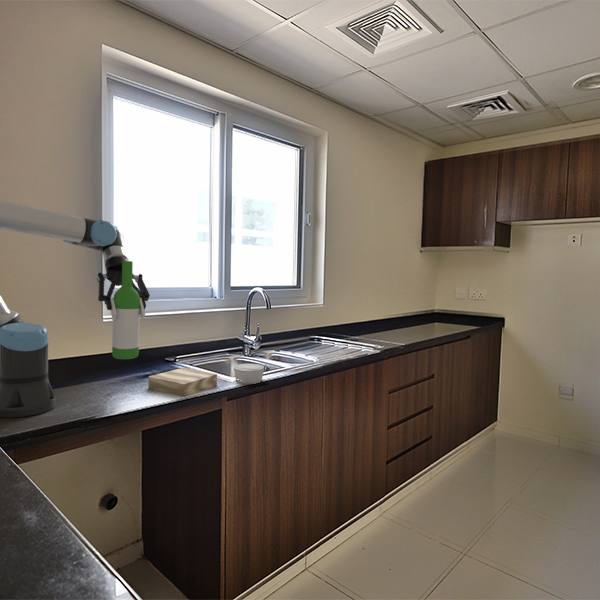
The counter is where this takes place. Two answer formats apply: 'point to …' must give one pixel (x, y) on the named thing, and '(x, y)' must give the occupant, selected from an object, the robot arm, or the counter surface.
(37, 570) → the counter surface
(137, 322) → the wine bottle
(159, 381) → the birch base
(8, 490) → the counter surface
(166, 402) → the counter surface
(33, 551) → the counter surface
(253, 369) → the ramekin
